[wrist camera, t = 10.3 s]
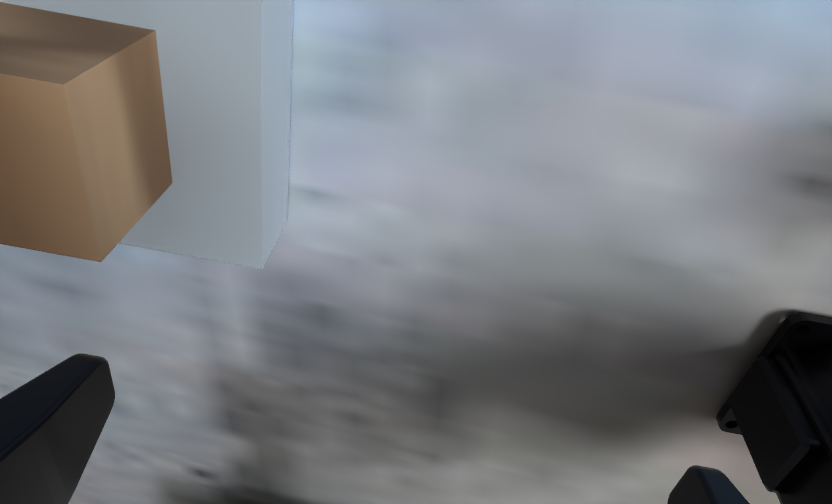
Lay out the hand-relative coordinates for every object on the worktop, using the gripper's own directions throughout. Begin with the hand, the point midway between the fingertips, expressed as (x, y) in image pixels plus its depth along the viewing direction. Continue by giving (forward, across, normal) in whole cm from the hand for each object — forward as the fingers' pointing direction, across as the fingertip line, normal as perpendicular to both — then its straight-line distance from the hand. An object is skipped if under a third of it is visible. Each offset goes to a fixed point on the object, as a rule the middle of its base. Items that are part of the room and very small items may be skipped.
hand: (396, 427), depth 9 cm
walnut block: (+9, +10, 0) cm, 13 cm away
